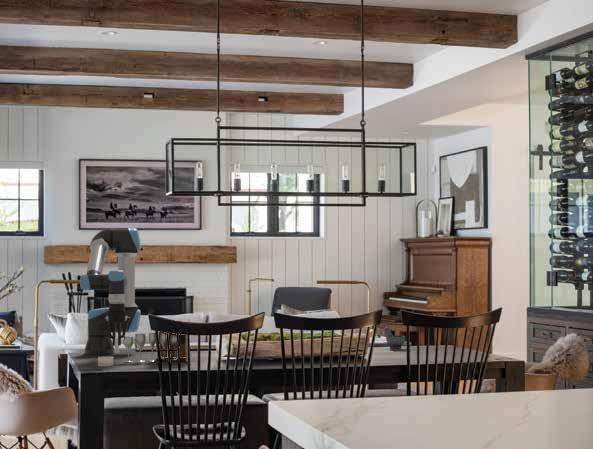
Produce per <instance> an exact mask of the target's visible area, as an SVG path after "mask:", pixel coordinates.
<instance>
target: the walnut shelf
mask: <svg viewBox="0 0 593 449" xmlns="http://www.w3.org/2000/svg"><path fill="white" fill-rule="evenodd" d="M174 320H175V321H182V322H190V321H191V320H190V319H187V318H186V319H174ZM190 323H191V322H190ZM161 333H164V332H159V344H160V349H161V350H162V349H163V345H162V343H161V338H160V337H161ZM171 335H174V334H172V333H169V345H170V349H175V348H174V346H173V345H172V344H171V343H170V336H171ZM180 335H181V334H180ZM181 338H182V342H181V344H180V345H179V346H180V357H182V358H183V357H186V359H185V363H186V362H187V358H188V350H187V335H181ZM165 349H167V344H166V346H165ZM170 354H171V358H173V357H176V358H177V351H176V353H175V351H171V352H170ZM161 356H162V357H164V351H161ZM165 357H167V351H165Z"/></svg>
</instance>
